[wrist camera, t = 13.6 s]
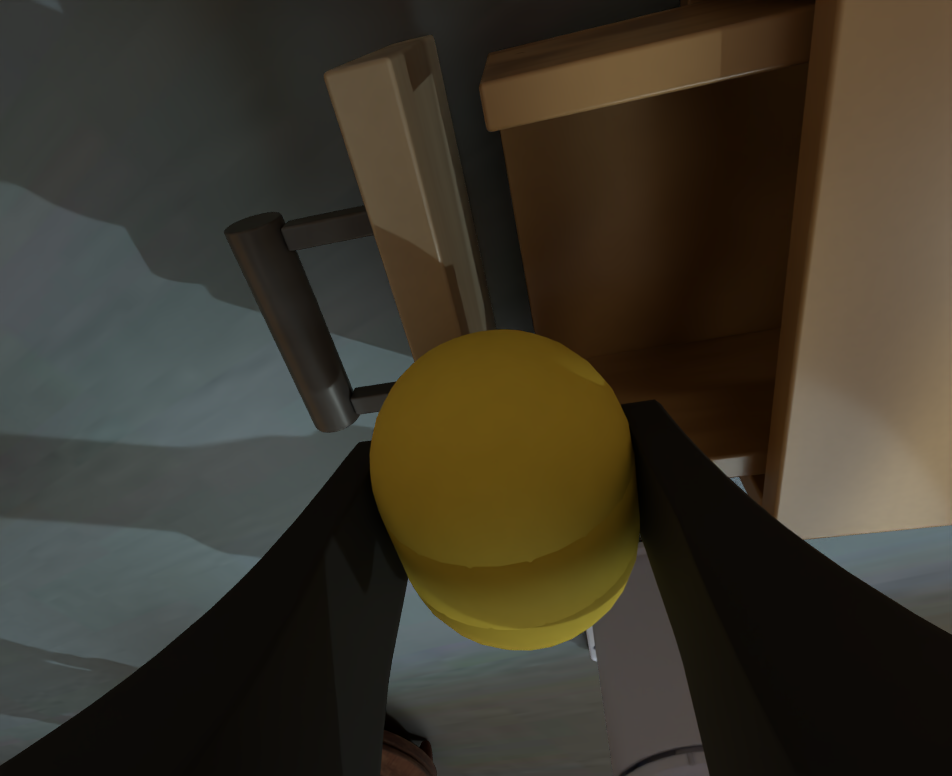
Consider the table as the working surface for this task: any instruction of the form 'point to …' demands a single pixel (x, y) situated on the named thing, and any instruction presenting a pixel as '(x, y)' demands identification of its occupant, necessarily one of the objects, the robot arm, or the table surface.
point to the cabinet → (868, 281)
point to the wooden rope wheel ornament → (406, 757)
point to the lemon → (508, 488)
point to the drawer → (578, 211)
